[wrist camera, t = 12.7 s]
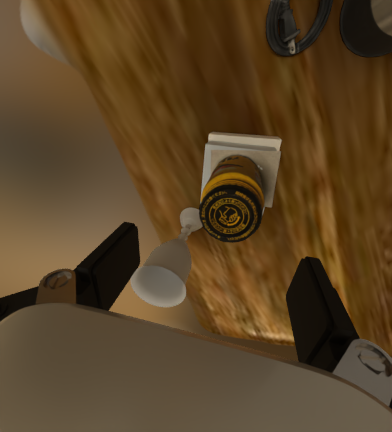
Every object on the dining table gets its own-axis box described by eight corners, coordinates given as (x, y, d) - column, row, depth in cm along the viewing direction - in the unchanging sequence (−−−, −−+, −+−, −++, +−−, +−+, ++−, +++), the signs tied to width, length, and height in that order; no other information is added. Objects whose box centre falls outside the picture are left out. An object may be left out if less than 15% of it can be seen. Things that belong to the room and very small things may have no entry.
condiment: (211, 149, 26) (188, 174, 16) (280, 151, 24) (306, 180, 14) (210, 201, 29) (190, 251, 19) (271, 206, 28) (286, 262, 17)
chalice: (183, 237, 43) (147, 310, 27) (169, 209, 41) (120, 271, 25) (215, 228, 40) (195, 303, 25) (201, 198, 38) (170, 259, 22)
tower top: (210, 140, 29) (205, 144, 26) (274, 147, 28) (278, 152, 25) (204, 197, 34) (199, 207, 30) (260, 205, 32) (261, 217, 29)
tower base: (212, 131, 33) (208, 134, 29) (277, 136, 31) (281, 139, 27) (208, 190, 37) (204, 198, 34) (264, 197, 36) (266, 206, 32)
